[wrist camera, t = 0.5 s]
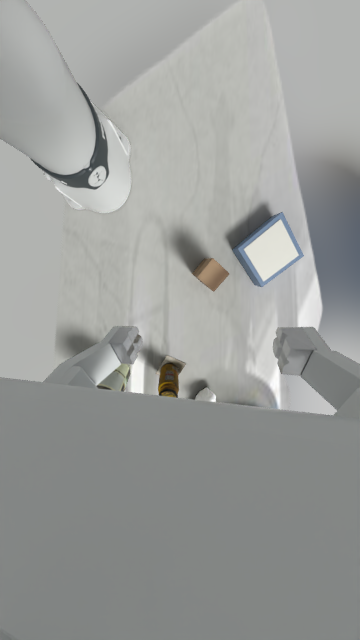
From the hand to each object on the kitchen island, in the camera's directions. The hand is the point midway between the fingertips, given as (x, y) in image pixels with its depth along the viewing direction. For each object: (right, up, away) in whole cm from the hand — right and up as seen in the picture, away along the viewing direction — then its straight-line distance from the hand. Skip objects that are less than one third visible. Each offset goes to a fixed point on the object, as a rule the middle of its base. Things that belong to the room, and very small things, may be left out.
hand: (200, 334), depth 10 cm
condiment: (-4, -16, +45) cm, 48 cm away
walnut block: (+6, +14, +34) cm, 38 cm away
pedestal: (+21, +19, +33) cm, 44 cm away
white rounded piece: (+8, -28, +50) cm, 58 cm away
